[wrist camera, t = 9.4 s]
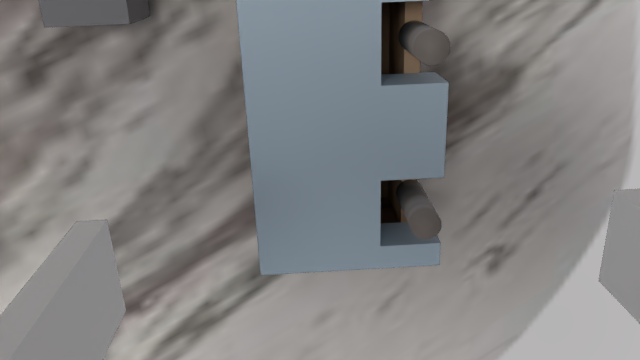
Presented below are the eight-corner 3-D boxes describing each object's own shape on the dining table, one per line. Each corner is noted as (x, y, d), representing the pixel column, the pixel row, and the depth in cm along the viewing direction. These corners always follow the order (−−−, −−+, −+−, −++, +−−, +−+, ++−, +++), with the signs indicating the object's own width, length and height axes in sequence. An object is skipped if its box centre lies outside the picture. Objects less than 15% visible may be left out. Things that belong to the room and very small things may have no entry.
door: (239, -25, 25) (233, -24, 22) (439, -34, 25) (454, -33, 22) (263, 250, 30) (260, 274, 27) (428, 241, 30) (439, 264, 28)
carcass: (262, -28, 29) (250, -24, 21) (408, -34, 29) (454, -33, 21) (279, 210, 34) (275, 290, 26) (403, 204, 35) (438, 281, 26)
